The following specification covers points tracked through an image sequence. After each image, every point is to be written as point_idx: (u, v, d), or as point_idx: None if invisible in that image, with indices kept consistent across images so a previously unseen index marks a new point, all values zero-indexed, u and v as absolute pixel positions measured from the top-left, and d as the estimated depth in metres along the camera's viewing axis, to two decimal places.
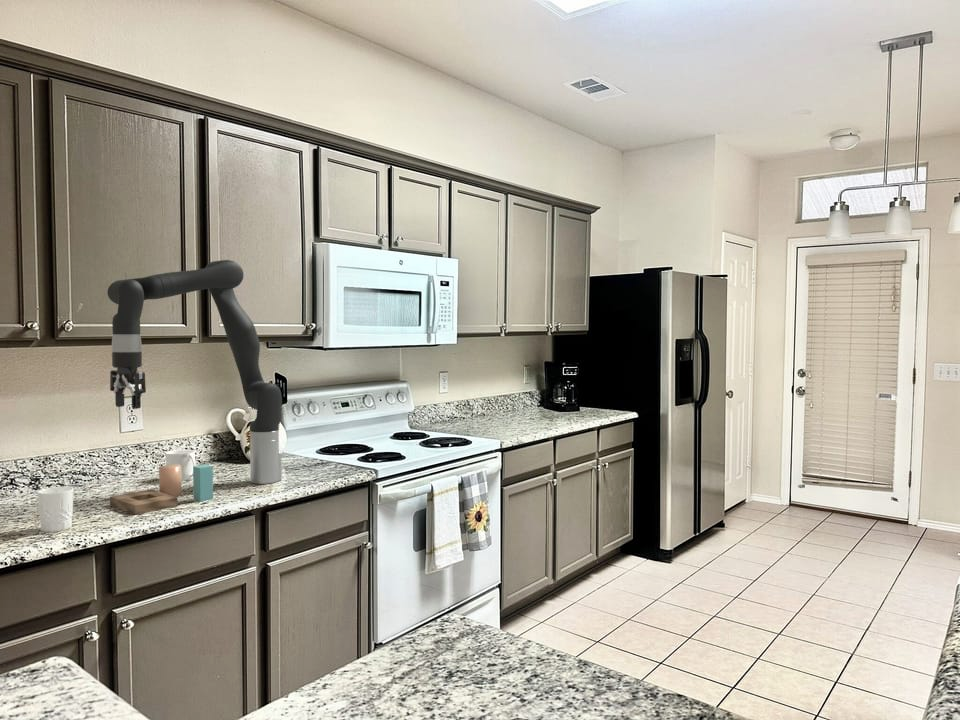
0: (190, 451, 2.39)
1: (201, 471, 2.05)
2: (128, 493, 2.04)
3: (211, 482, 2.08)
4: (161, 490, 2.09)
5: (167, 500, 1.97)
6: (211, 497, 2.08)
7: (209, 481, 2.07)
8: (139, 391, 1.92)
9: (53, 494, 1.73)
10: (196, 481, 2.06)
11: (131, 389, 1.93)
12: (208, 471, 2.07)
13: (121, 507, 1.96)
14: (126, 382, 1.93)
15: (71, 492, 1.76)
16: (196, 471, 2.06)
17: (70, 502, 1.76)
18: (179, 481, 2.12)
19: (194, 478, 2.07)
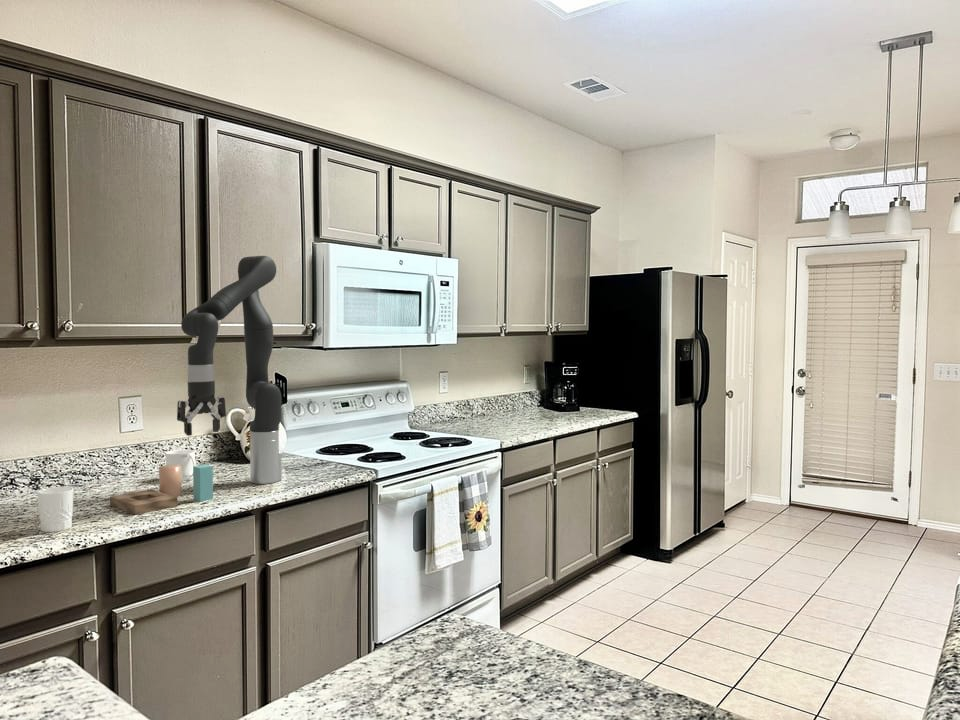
0: (190, 451, 2.39)
1: (201, 471, 2.05)
2: (128, 493, 2.04)
3: (211, 482, 2.08)
4: (161, 490, 2.09)
5: (167, 500, 1.97)
6: (211, 497, 2.08)
7: (209, 481, 2.07)
8: None
9: (53, 494, 1.73)
10: (196, 481, 2.06)
11: (216, 414, 2.09)
12: (208, 471, 2.07)
13: (121, 507, 1.96)
14: (212, 408, 2.08)
15: (71, 492, 1.76)
16: (196, 471, 2.06)
17: (70, 502, 1.76)
18: (179, 481, 2.12)
19: (194, 478, 2.07)
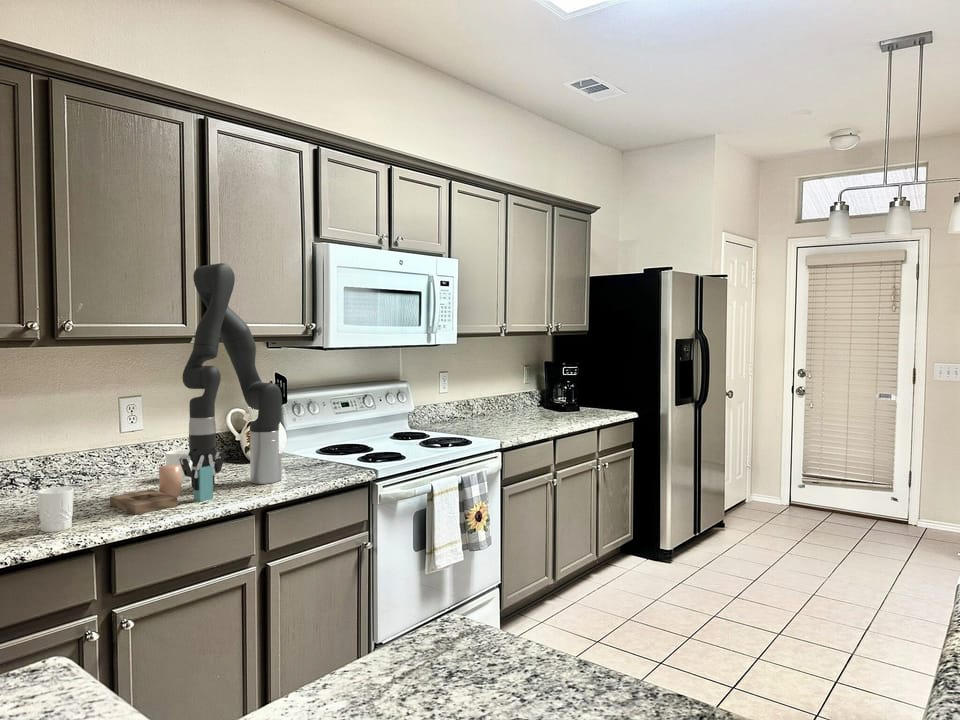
0: None
1: (201, 471, 2.05)
2: (128, 493, 2.04)
3: (211, 482, 2.08)
4: (161, 490, 2.09)
5: (167, 500, 1.97)
6: (211, 497, 2.08)
7: (210, 481, 2.07)
8: None
9: (53, 494, 1.73)
10: None
11: (213, 469, 2.09)
12: (208, 471, 2.07)
13: (121, 507, 1.96)
14: (211, 462, 2.08)
15: (71, 492, 1.76)
16: None
17: (70, 502, 1.76)
18: (179, 481, 2.12)
19: None
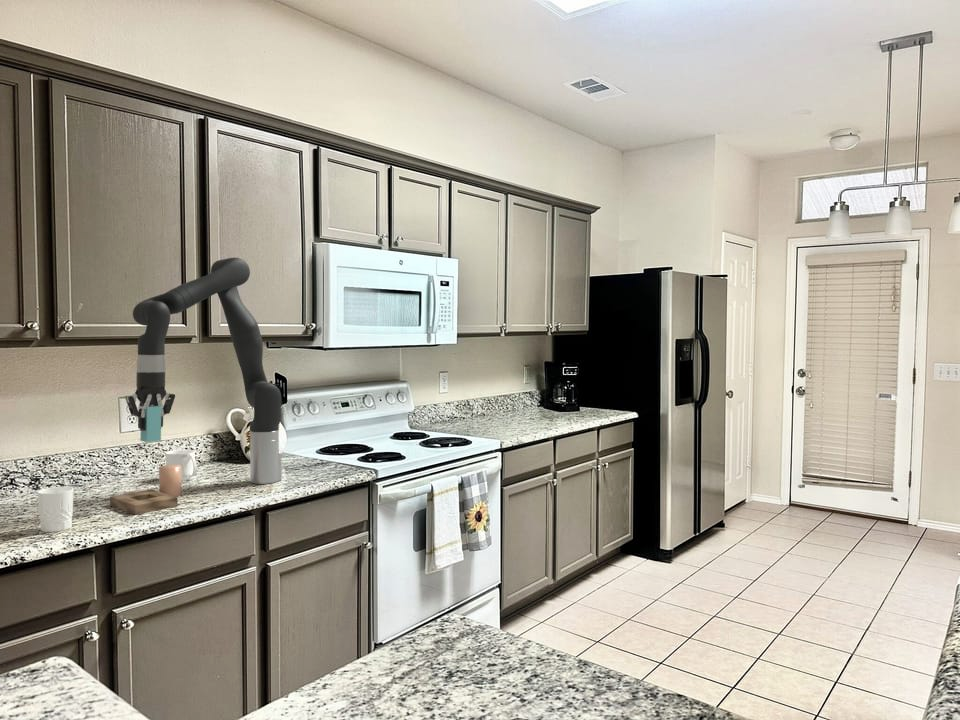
0: (190, 451, 2.39)
1: (148, 410, 1.97)
2: (128, 493, 2.04)
3: (159, 423, 2.00)
4: (161, 490, 2.09)
5: (167, 500, 1.97)
6: (159, 438, 2.00)
7: (157, 422, 1.99)
8: None
9: (53, 494, 1.73)
10: None
11: (161, 410, 2.01)
12: (156, 411, 1.99)
13: (121, 507, 1.96)
14: (159, 402, 2.00)
15: (71, 492, 1.76)
16: None
17: (70, 503, 1.76)
18: (179, 481, 2.12)
19: None
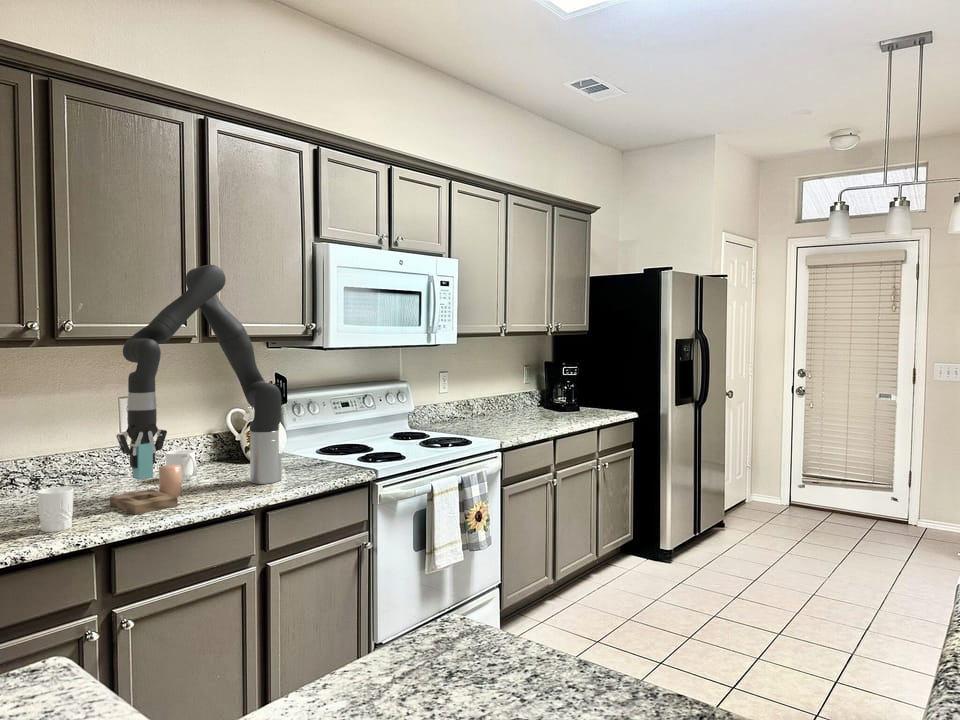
0: (190, 451, 2.39)
1: (139, 448, 1.97)
2: (128, 493, 2.04)
3: (151, 460, 1.99)
4: (161, 490, 2.09)
5: (167, 500, 1.97)
6: (151, 476, 1.99)
7: (149, 459, 1.99)
8: None
9: (53, 494, 1.73)
10: None
11: (153, 447, 2.00)
12: (147, 448, 1.98)
13: (121, 507, 1.96)
14: (151, 439, 1.99)
15: (71, 492, 1.76)
16: None
17: (70, 503, 1.76)
18: (179, 481, 2.12)
19: None
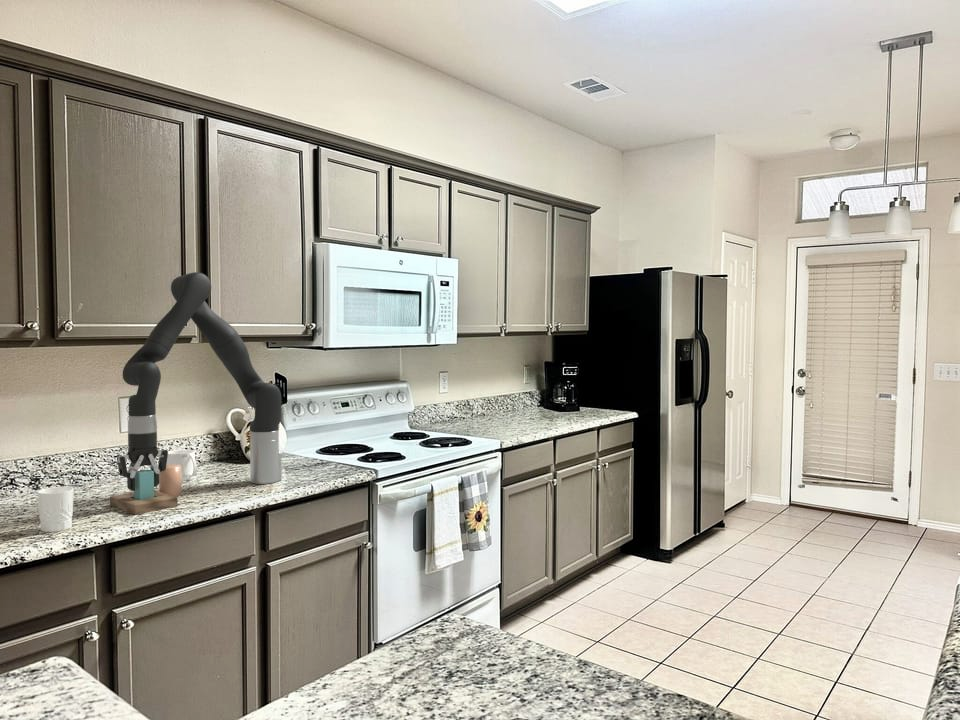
0: (190, 451, 2.39)
1: (140, 476, 1.97)
2: (128, 493, 2.04)
3: (152, 488, 2.00)
4: (161, 490, 2.09)
5: (167, 500, 1.97)
6: None
7: (150, 487, 1.99)
8: None
9: (53, 494, 1.73)
10: (136, 487, 1.98)
11: (156, 468, 2.01)
12: (149, 476, 1.99)
13: (121, 507, 1.96)
14: (153, 461, 2.00)
15: (71, 492, 1.76)
16: (136, 476, 1.98)
17: (70, 503, 1.76)
18: (179, 481, 2.12)
19: None
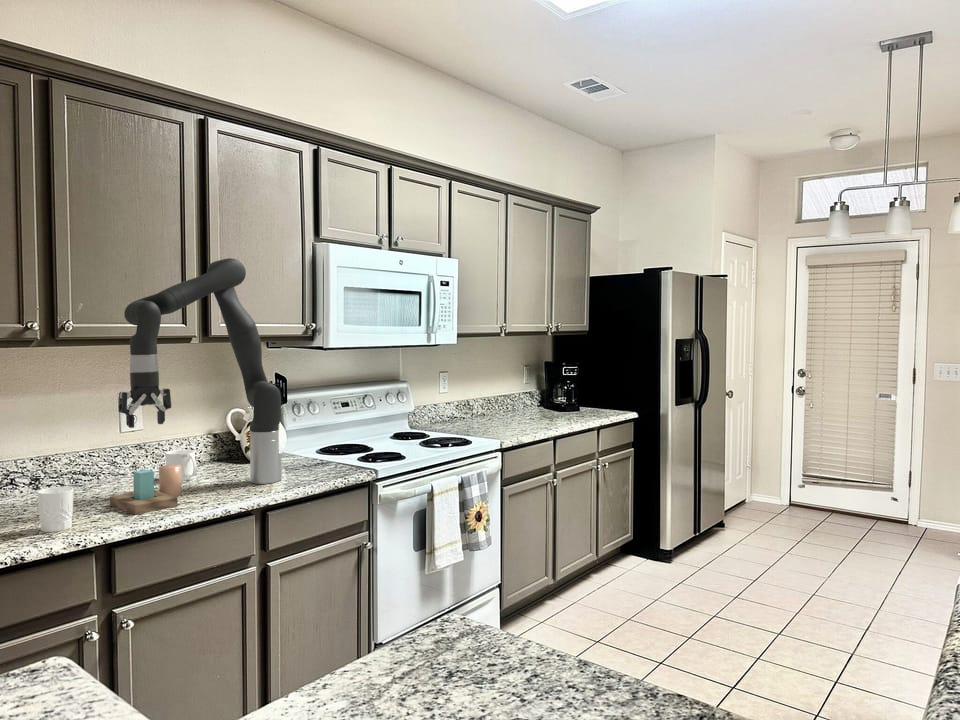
0: (190, 451, 2.39)
1: (140, 476, 1.97)
2: (128, 493, 2.04)
3: (152, 488, 2.00)
4: (161, 490, 2.09)
5: (167, 500, 1.97)
6: None
7: (150, 487, 1.99)
8: None
9: (53, 494, 1.73)
10: (136, 487, 1.98)
11: (161, 406, 2.03)
12: (148, 476, 1.99)
13: (121, 507, 1.96)
14: (156, 400, 2.02)
15: (71, 492, 1.76)
16: (136, 476, 1.98)
17: (70, 503, 1.76)
18: (179, 481, 2.12)
19: (134, 484, 1.99)
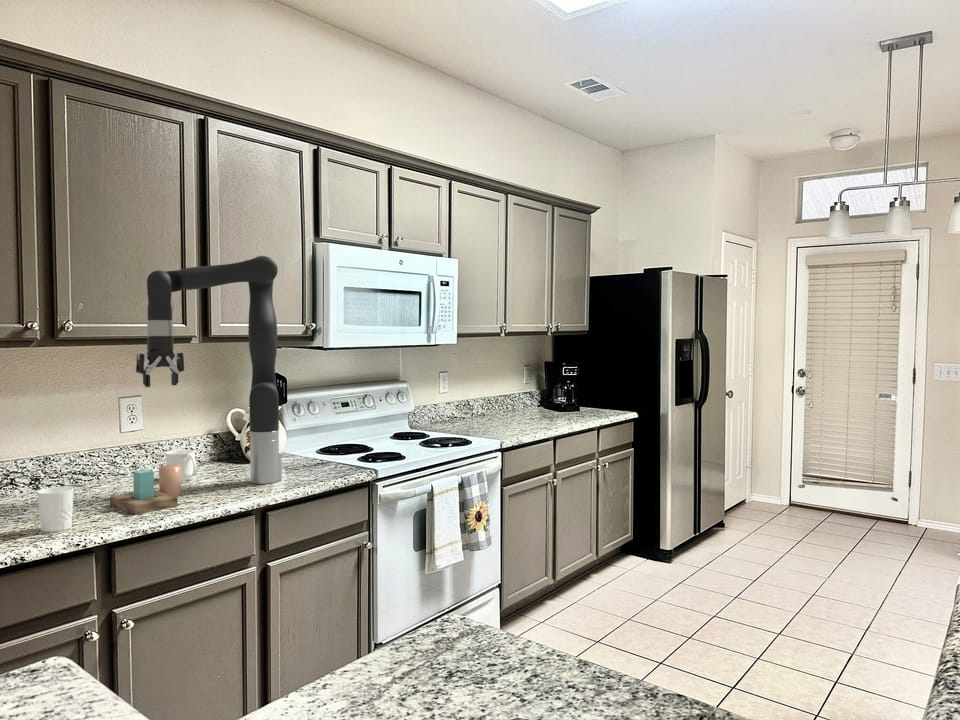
0: (190, 451, 2.39)
1: (140, 476, 1.97)
2: (128, 493, 2.04)
3: (152, 488, 2.00)
4: (161, 490, 2.09)
5: (167, 500, 1.97)
6: None
7: (150, 487, 1.99)
8: None
9: (53, 494, 1.73)
10: (136, 487, 1.98)
11: (175, 368, 2.20)
12: (148, 476, 1.99)
13: (121, 507, 1.96)
14: (171, 362, 2.19)
15: (71, 492, 1.76)
16: (136, 476, 1.98)
17: (70, 502, 1.76)
18: (179, 481, 2.12)
19: (134, 484, 1.99)
